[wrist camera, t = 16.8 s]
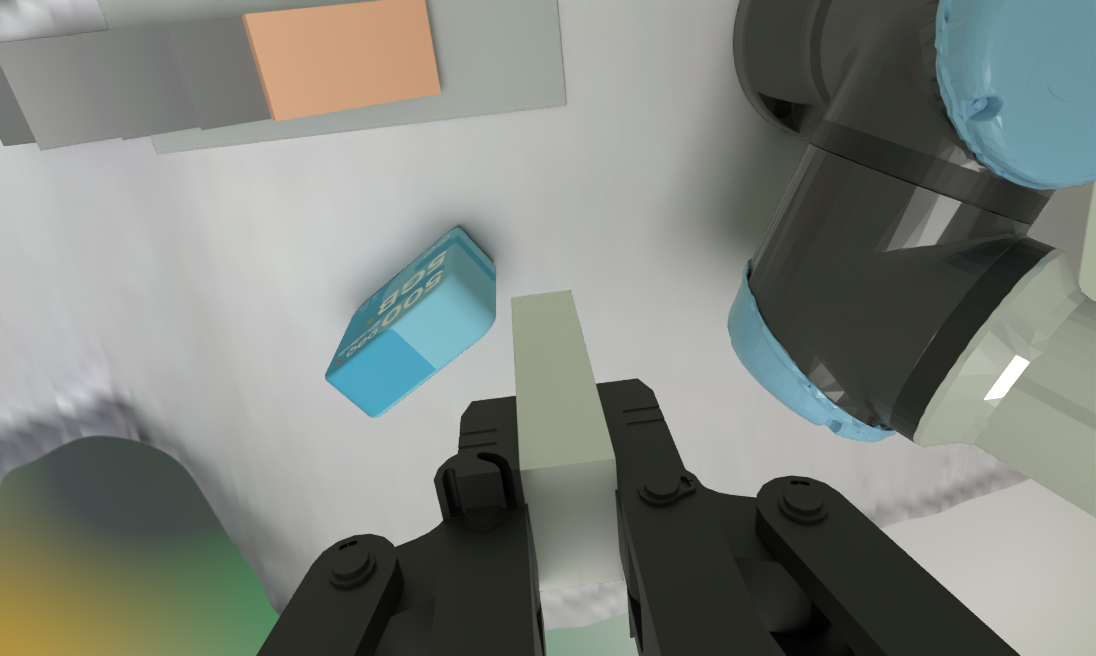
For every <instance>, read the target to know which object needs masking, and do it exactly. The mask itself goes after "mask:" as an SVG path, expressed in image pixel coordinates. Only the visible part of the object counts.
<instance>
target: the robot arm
mask: <svg viewBox="0 0 1096 656" xmlns="http://www.w3.org/2000/svg"><path fill="white" fill-rule="evenodd" d="M733 49H734V60H735V67H736V71H737V75H738V78H739V81H740V84H741V87H742V89H743V91H744V93H745V95H746V97H747V98H748V100H749V101H750V103H751V104H752V106H753V107H754V108H755V109H756V110H757V112H758V113H759V114H760V115H761V116H762V117H764V118H765V119H766V120H767V121H769V122H770V123H772V124H773V125H775V126H777V127H778V128H781V129H783V130H785V131H787V132H790V133H792V134H795V135H798V136H801V137H804V138H808V139H812V140H811V141H810V143H809V145H808V147H807V149H806V151H805V153H804V155H803V157H802V159H801V161H800V163H799V165H798V167H797V169H796V171H795V173H794V175H793V177H792V179H791V181H790V183H789V185H788V187H787V189H786V191H785V193H784V195H783V197H782V199H781V201H780V203H779V205H778V207H777V209H776V211H775V213H774V215H773V217H772V219H771V221H770V223H769V225H768V227H767V229H766V231H765V233H764V235H763V237H762V239H761V242H760V244H759V246H758V248H757V250H756V252H755V254H754V256H753V258H751V259H750V260H749V261H748V262H747V264H746V266H745V268H744V271H743V281H742V284H741V286H740V288H739V291H738V293H737V295H736V298H735V300H734V302H733V305H732V307H731V309H730V312H729V316H728V331H729V334H730V337H731V344H732V347H733V349H734V351H735V352H736V354H737V356H738V358H739V359H740V361H741V362H742V364H743V365H744V366H745V368H746V369H747V370H748V372H749V373H750V374H751V375H752V376H753V377H754V378H755V379H756V380H757V381H758V382H759V383H760V384H761V385H762V386H763V387H764V388H765V389H766V390H767V391H768V392H769V393H770V394H772V395H773V396H774V397H775V398H776V399H778V400H779V401H780V402H781V403H783V404H784V405H785V406H787V407H788V408H789V409H791V410H792V411H794V412H795V413H797V414H798V415H800V416H801V417H803V418H805V419H806V420H808V421H810V422H811V423H813V424H815V425H817V426H820V425H823V424H825V425H826V426H827V427H829V428H830V429H831V430H832V431H833V432H834V433H835V434H836V435H839V436H842V437H844V438H848V439H851V440H855V441H863V442H876V441H880V440H883V439H885V438H886V437H888V436H891V435H894V434H895V433H896V432H898V433H900V434H901V435H903V436H905V437H906V438H908V439H909V440H911V441H912V442H914V443H916V444H918V445H920V446H922V447H927V446H937V445H946V444H956V443H964V444H971V445H976V446H977V447H979V448H981V449H982V450H984V451H986V452H987V453H989V454H991V455H992V456H994V457H996V458H997V459H999V460H1001V461H1002V462H1004V463H1006V464H1007V465H1009V466H1011V467H1012V468H1014V469H1016V470H1017V471H1019V472H1021V473H1022V474H1024V475H1026V476H1027V477H1029V478H1031V479H1032V480H1034V481H1036V482H1037V483H1039V484H1041V485H1042V486H1044V487H1046V488H1047V489H1049V490H1051V491H1052V492H1054V493H1056V494H1057V495H1059V496H1061V497H1062V498H1064V499H1066V500H1067V501H1069V502H1071V503H1072V504H1074V505H1076V506H1077V507H1079V508H1081V509H1083V510H1084V511H1086V512H1087V513H1089V514H1091V515H1092V516H1094V517H1096V302H1095V301H1093V300H1091V299H1090V298H1089V297H1088V296H1086V295H1085V294H1084V293H1082V292H1081V289H1080V286H1079V284H1078V281H1077V278H1076V276H1075V273H1074V270H1073V267H1072V265H1071V262H1070V259H1069V257H1068V254H1067V253H1066V252H1064V251H1062V250H1060V249H1056V248H1054V247H1051V246H1049V245H1046V244H1044V243H1041V242H1039V241H1036V240H1034V239H1031V238H1029V237H1028V236H1027V235H1026V234H1027V232H1028V230H1029V229H1030V227H1031V226H1032V225H1031V224H1033V223H1034V221H1035V220H1036V218H1037V217H1038V215H1039V214H1040V212H1041V211H1042V209H1043V208H1044V206H1045V205H1046V203H1047V202H1048V200H1049V199H1050V197H1051V196H1052V195H1053V193H1054V192H1055V190H1056V189H1062V188H1065V187H1073V186H1078V185H1084V184H1088V183H1092V182H1095V181H1096V0H741V1H740V4H739V8H738V12H737V16H736V21H735V28H734V40H733ZM511 306H512V325H513V345H514V364H515V384H516V396H511V397H503V398H495V399H487V400H479V401H472V402H471V404H470V405H469V406H468V408H467V409H466V411H465V412H464V413H463V415H462V416H461V422H460V437H459V445H458V448H459V450H458V454H456V455H455V456H453V457H451V458H449V459H448V460H447V461H446V462H445V463H444V464H443V465H442V466H441V467H440V468H439V469H438V471H437V473H436V476H435V478H434V483H435V488H436V492H437V496H438V500H439V504H440V508H441V512H442V516H443V521H442V522H441V523H440V524H439V525H438V526H437V527H436V528H434V529H433V530H431V531H430V532H429V533H427V534H425V535H423V536H421V537H419V538H417V539H414V540H412V541H409V542H407V543H404V544H402V545H399V546H396V547H394V545H393V544H392V543H391V542H390V541H388V540H387V539H386V538H385V537H382V536H378V535H374V534H364V535H354V536H352V537H349V538H346V539H344V540H341V541H338V542H337V543H335V544H334V545H332V546H331V547H329V548H328V549H327V550H325V551H324V552H323V553H322V554H321V555H320V556H319V557H318V558H317V560H316V561H315V562H314V563H313V564H312V566H311V567H310V569H309V571H308V572H307V574H306V575H305V577H304V579H303V580H302V582H301V584H300V585H299V587H298V588H297V590H296V592H295V593H294V595H293V597H292V598H291V600H290V601H289V603H288V605H287V606H286V608H285V610H284V611H283V613H282V614H281V616H280V618H279V619H278V621H277V623H276V624H275V626H274V628H273V629H272V631H271V633H270V634H269V636H268V637H267V639H266V641H265V642H264V644H263V645H262V647H261V649H260V650H259V652H258V654H257V655H256V656H546V645H545V635H544V634H545V633H544V620H543V614H542V608H541V601H540V592H542V591H550V590H557V589H564V588H572V587H579V586H587V585H594V584H602V583H609V582H616V581H624V575H625V580H626V584H627V595H628V610H629V624H630V638H633V637H635V641H636V645H637V650H638V654H639V656H1020V655H1019V654H1018V653H1017V652H1016V651H1015V650H1014V649H1013V648H1011V647H1010V646H1009V645H1008V644H1007V643H1006V642H1004V640H1003V639H1001V638H1000V637H999V636H998V635H997V634H996V633H994V631H993V630H991V629H990V628H989V627H988V626H987V625H985V623H984V622H982V621H981V620H980V619H979V618H978V617H977V616H976V615H975V614H974V613H973V612H971V611H970V610H969V609H968V608H967V607H966V606H965V605H964V604H963V603H961V602H960V601H959V600H958V599H957V598H956V597H955V596H954V595H953V594H951V593H950V592H949V591H948V590H947V589H946V588H945V587H944V586H943V585H941V584H940V583H939V582H938V581H937V580H936V579H935V578H934V577H933V576H931V575H930V574H929V573H928V572H927V571H926V570H925V569H924V568H923V567H921V566H920V565H919V564H918V563H917V562H916V561H915V560H914V559H913V558H912V557H910V556H909V555H908V554H907V553H906V552H905V551H904V550H903V549H902V548H900V547H899V546H898V545H897V544H896V543H895V542H894V541H893V540H892V539H890V538H889V537H888V536H887V535H886V534H885V533H884V532H883V531H882V530H880V529H879V528H878V527H877V526H876V525H875V524H874V523H873V522H872V521H870V520H869V519H868V518H867V517H866V516H865V515H864V514H863V513H862V512H860V511H859V510H858V509H857V508H856V507H855V506H854V505H853V504H852V503H850V502H849V501H848V500H847V499H846V498H845V497H844V496H843V495H842V494H840V493H839V492H838V491H836V490H835V489H833V488H832V487H830V486H829V485H827V484H826V483H823V482H820V481H817V480H815V479H812V478H809V477H800V476H786V477H779V478H775V479H773V480H771V481H769V482H767V483H766V484H764V485H763V486H762V488H761V489H760V491H759V492H758V494H757V498H755V497H746V496H737V495H729V494H724V493H719V492H716V491H713V490H711V489H708V488H706V487H704V486H703V485H702V484H701V483H700V481H699V480H698V479H697V477H696V476H695V475H694V474H692V473H691V472H689V471H687V470H686V469H685V467H684V465H683V462H682V460H681V458H680V455H679V453H678V450H677V448H676V445H675V443H674V441H673V438H672V436H671V433H670V431H669V429H668V426H667V424H666V421H665V420H664V416H663V414H662V412H661V409H659V404H658V402H657V399H656V397H655V395H654V392H653V390H652V389H650V388H649V387H648V386H646V385H645V384H644V383H643V382H641V381H640V380H639V379H638V378H637V379H630V380H622V381H614V382H606V383H599V384H596V383H595V379H594V376H593V372H592V368H591V364H590V361H589V357H588V353H587V349H586V346H585V342H584V338H583V334H582V331H581V327H580V323H579V319H578V316H577V312H576V308H575V304H574V301H573V297H572V293H571V290H568V291H560V292H552V293H544V294H536V295H528V296H520V297H513V298H511ZM623 571H624V575H623Z"/></svg>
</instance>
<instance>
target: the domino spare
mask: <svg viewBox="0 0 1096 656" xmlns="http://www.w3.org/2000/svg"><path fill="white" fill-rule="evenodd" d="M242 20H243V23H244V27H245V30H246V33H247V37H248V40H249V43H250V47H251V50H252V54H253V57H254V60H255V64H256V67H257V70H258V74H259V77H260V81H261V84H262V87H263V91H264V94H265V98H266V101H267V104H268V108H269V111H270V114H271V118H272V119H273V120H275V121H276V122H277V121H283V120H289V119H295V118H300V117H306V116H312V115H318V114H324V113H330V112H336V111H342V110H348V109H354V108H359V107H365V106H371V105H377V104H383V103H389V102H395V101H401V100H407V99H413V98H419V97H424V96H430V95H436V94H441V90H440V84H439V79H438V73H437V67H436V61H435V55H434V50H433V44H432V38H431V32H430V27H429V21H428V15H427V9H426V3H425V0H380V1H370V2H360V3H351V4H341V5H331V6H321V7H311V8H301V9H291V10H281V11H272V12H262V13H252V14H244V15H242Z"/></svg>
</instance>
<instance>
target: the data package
mask: <svg viewBox="0 0 1096 656" xmlns="http://www.w3.org/2000/svg"><path fill="white" fill-rule="evenodd" d="M495 318H496V267H495V265H494V264H493V263H492V262H491V261H490V260H489V259H488V257H487V256H486V255H485V254H484V253H483V252H482V251H481V250H480V249H479V248H478V247H477V246H476V245H475V243H474V242H473V241H472V240H471V239H470V238H469V237H468V236H467V235H466V234H465V233H464V232H463V231H462V229H460V228H454V229H452V230H451V231H449V232H448V233H446V234H445V235H444V236H443V237H442V238H440V239H439V240H438V241H437V242H436V243H435V244H433V245H432V246H431V247H430V248H429V249H427V250H426V251H425V252H424V253H423V254H422V255H420V256H419V257H418V258H417V259H416V260H414V261H413V262H412V263H411V264H410V265H409V266H407V267H406V268H405V269H404V270H403V271H401V272H400V273H399V274H398V275H397V276H396V277H394V278H393V279H392V280H391V281H390V282H388V283H387V284H386V285H385V286H384V287H383V288H381V289H380V290H379V291H378V292H377V293H375V294H374V295H373V296H372V297H371V298H370V299H368V300H367V301H366V302H365V303H364V304H363V305H362V306H361V307H360V308H359V309H358V310H357V311H356V313H355V314H354V315H353V317H352V319H351V321H350V323H349V325H348V328H347V330H346V332H345V334H344V336H343V338H342V340H341V342H340V345H339V347H338V349H337V351H336V353H335V355H334V357H333V359H332V361H331V364H330V366H329V368H328V370H327V372H326V375H325V379H326V381H328V382H329V383H330V384H331V385H332V386H334V387H335V388H336V389H337V390H338V391H340V392H341V393H342V394H343V395H344V396H346V397H347V398H348V399H349V400H350V401H352V402H353V403H354V404H355V405H356V406H358V407H359V408H360V409H361V410H362V411H364V412H365V413H366V414H367V415H368V416H370V417H371V418H377V417H379V416H381V415H383V414H384V413H386V412H387V411H388V410H389V409H391V408H392V407H393V406H395V405H396V404H397V403H398V402H400V401H401V400H402V399H404V398H405V397H406V396H407V395H409V394H410V393H411V392H413V391H414V390H415V389H416V388H418V387H419V386H420V385H422V384H423V383H424V382H425V381H427V380H428V379H429V378H431V377H432V376H433V375H434V374H436V373H437V372H438V371H440V370H441V369H442V368H443V367H445V366H446V365H447V364H449V363H450V362H451V361H452V360H454V359H455V358H456V357H457V356H459V355H460V354H461V353H463V352H464V351H465V350H466V349H468V348H469V347H470V346H472V345H473V344H474V343H475V342H477V341H478V340H479V339H480V338H482V337H483V336H484V335H485V334H486V333H487V331H488V330H489V329H490V328H491V326H492V325H493V323H494V321H495Z"/></svg>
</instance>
